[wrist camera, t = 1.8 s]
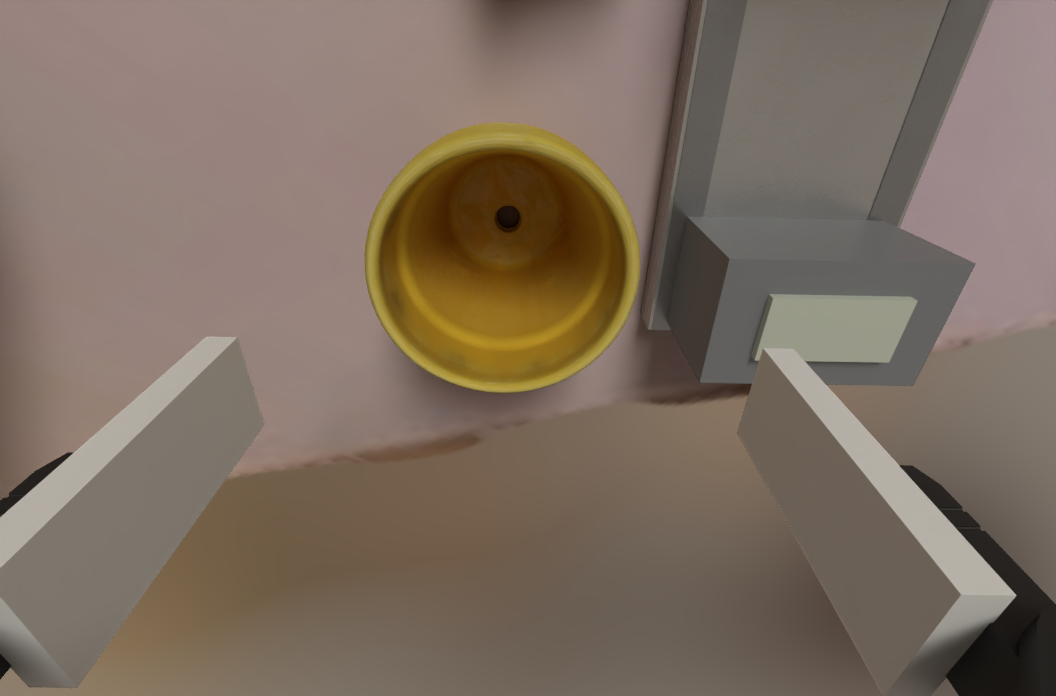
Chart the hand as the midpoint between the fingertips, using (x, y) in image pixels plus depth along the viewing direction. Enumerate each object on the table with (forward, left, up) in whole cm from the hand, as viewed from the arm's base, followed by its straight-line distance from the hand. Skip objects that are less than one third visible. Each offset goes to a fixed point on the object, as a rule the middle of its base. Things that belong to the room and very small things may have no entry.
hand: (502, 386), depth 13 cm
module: (+14, -2, -14) cm, 20 cm away
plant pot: (0, 0, -16) cm, 16 cm away
